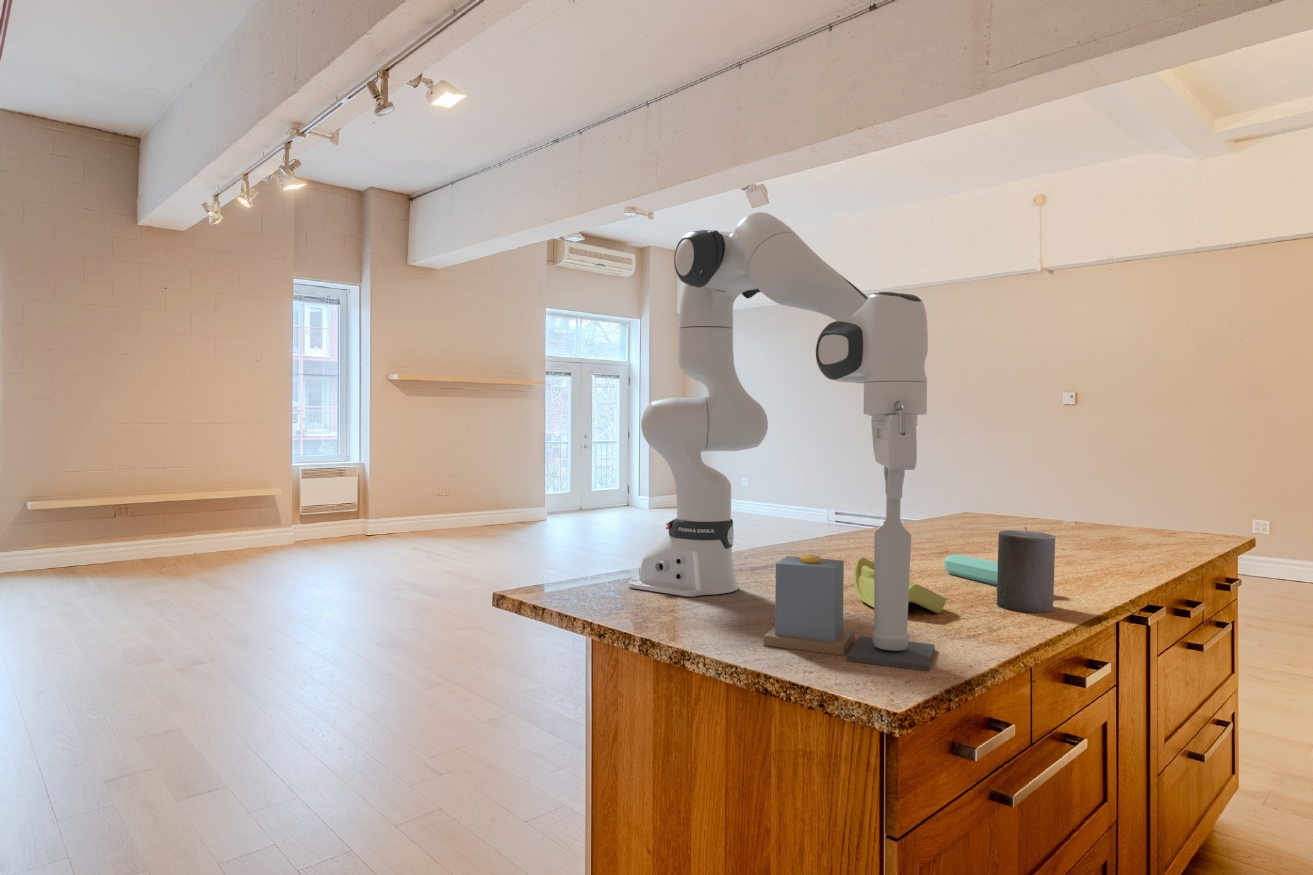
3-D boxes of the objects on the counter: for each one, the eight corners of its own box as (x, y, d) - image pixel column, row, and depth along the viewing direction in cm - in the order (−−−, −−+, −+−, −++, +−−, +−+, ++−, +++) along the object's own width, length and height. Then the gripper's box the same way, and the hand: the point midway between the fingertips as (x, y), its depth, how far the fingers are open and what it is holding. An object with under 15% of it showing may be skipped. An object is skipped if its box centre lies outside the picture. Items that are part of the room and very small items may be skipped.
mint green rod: (943, 547, 178) (1032, 563, 155) (962, 555, 180) (1053, 573, 157) (935, 571, 177) (1023, 592, 154) (954, 580, 179) (1044, 601, 156)
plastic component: (952, 601, 139) (909, 580, 137) (934, 639, 139) (891, 618, 136) (892, 572, 158) (853, 553, 156) (876, 605, 158) (837, 586, 156)
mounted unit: (763, 645, 119) (764, 558, 119) (780, 629, 128) (781, 548, 128) (843, 655, 114) (844, 564, 114) (854, 638, 123) (855, 554, 123)
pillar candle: (988, 607, 145) (991, 526, 144) (1005, 598, 152) (1008, 521, 152) (1045, 616, 138) (1047, 532, 138) (1060, 606, 146) (1062, 527, 145)
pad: (847, 660, 111) (847, 655, 111) (859, 641, 121) (859, 636, 121) (928, 671, 107) (928, 665, 107) (934, 649, 117) (934, 644, 117)
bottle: (898, 653, 111) (902, 477, 110) (865, 645, 114) (868, 475, 114) (914, 646, 114) (919, 475, 114) (882, 638, 118) (886, 473, 117)
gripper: (929, 401, 103) (927, 505, 103) (907, 404, 123) (906, 492, 123) (879, 400, 104) (878, 504, 104) (866, 404, 124) (865, 491, 124)
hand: (893, 497), depth 114 cm, fingers closed on bottle, 2 cm apart
